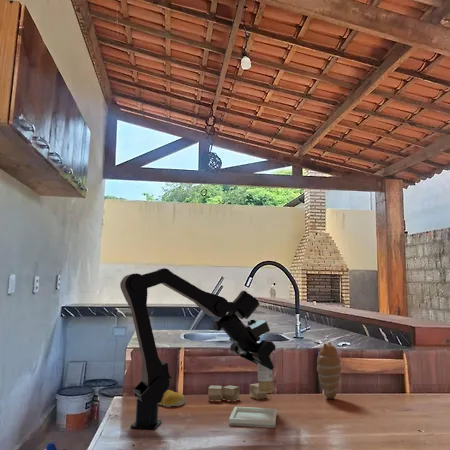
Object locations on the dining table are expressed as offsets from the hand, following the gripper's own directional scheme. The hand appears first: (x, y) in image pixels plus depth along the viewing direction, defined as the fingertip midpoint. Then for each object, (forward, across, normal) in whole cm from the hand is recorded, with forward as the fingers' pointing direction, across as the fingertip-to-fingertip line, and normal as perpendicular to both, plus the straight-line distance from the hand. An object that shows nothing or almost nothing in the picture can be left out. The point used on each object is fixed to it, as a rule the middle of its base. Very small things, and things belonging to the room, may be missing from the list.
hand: (268, 367), depth 122 cm
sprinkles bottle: (+4, -1, +6) cm, 7 cm away
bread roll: (-8, +18, +26) cm, 33 cm away
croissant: (+27, +4, -10) cm, 29 cm away
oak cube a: (+2, +17, +16) cm, 23 cm away
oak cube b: (+5, +15, +12) cm, 20 cm away
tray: (+2, -7, +15) cm, 16 cm away
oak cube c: (+12, +15, +5) cm, 20 cm away
